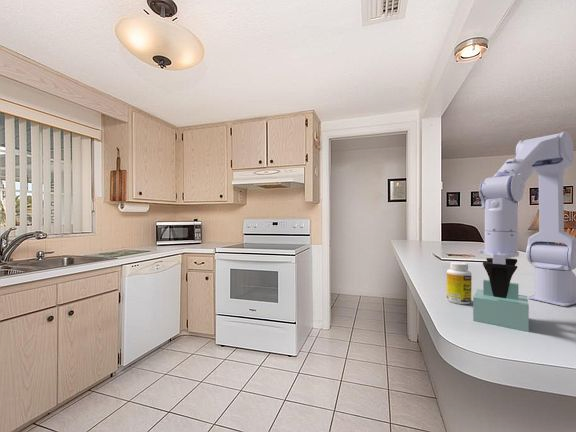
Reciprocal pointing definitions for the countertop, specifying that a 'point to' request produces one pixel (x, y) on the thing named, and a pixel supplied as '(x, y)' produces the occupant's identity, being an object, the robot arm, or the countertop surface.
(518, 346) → the countertop surface
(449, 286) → the supplement bottle
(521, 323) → the two-tier mint step
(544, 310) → the countertop surface
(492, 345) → the countertop surface
